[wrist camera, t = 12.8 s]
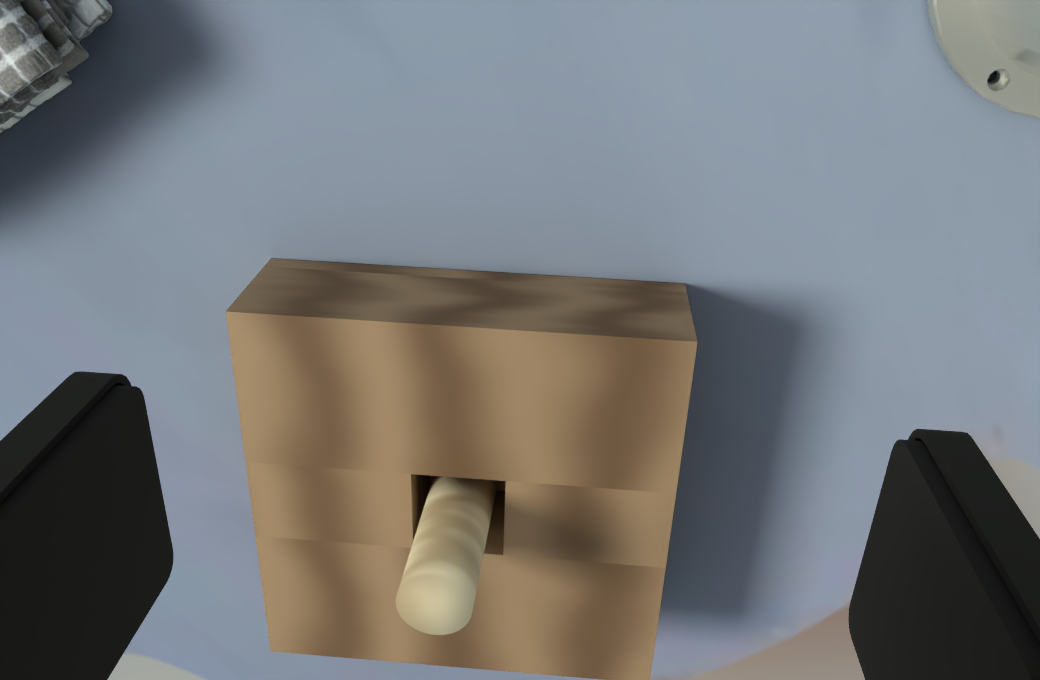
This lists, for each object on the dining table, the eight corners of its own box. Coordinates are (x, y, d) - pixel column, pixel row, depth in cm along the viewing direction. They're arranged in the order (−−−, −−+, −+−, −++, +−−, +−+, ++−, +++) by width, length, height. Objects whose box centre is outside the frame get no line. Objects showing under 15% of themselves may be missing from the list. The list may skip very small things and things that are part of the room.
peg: (502, 431, 46) (472, 579, 36) (502, 482, 47) (472, 638, 37) (441, 427, 46) (393, 573, 36) (442, 478, 47) (397, 631, 38)
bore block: (685, 283, 42) (697, 341, 37) (644, 600, 52) (649, 683, 46) (271, 258, 43) (225, 311, 38) (303, 573, 53) (270, 651, 47)
